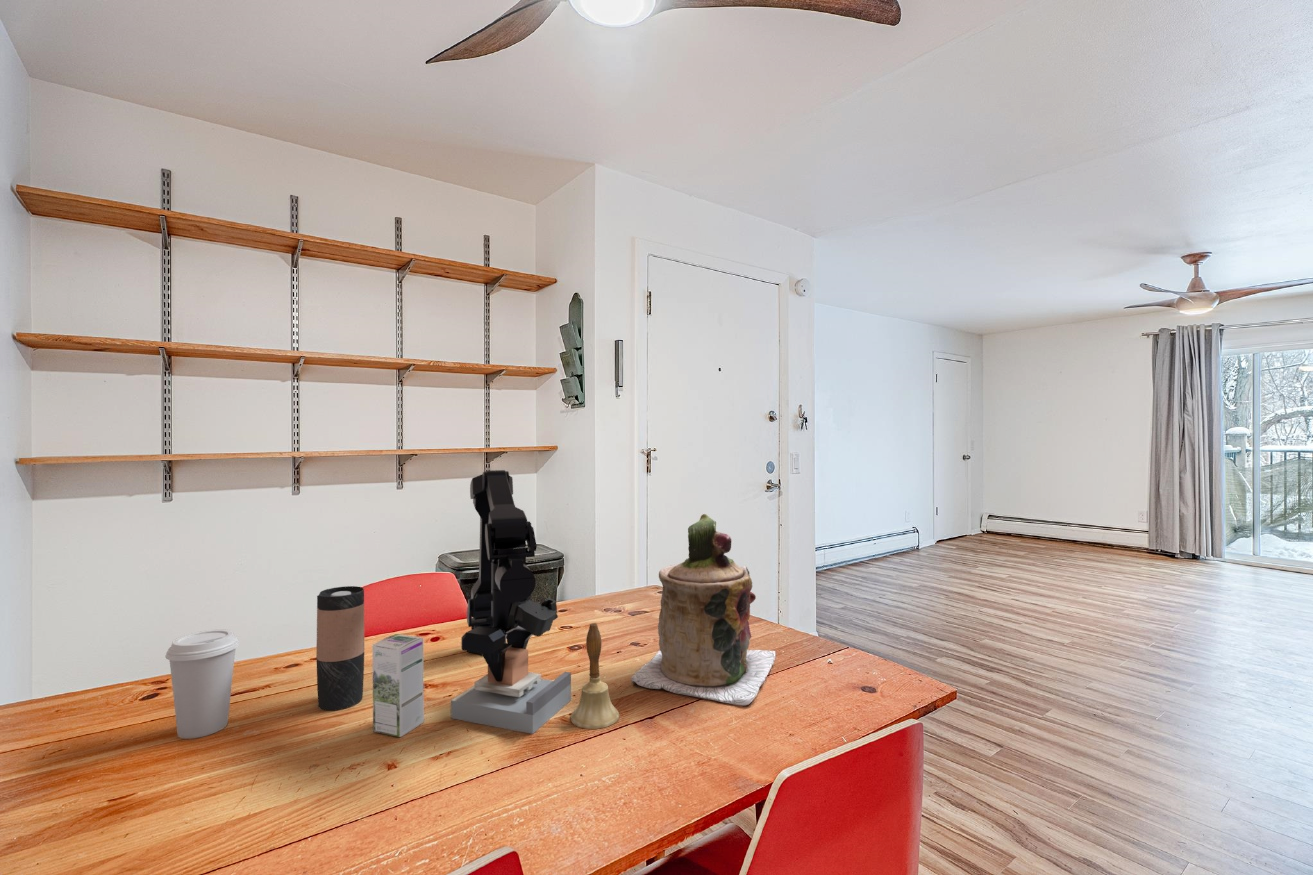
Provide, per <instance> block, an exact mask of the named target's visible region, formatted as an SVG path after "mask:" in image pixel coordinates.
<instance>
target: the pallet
mask: <svg viewBox="0 0 1313 875" xmlns="http://www.w3.org/2000/svg"><path fill="white" fill-rule="evenodd" d="M541 679H542V674H541V673H535V672H532V671H530V672H529V649H528V648H526V649H521V648H514V647H510V648H509V649H508V650H507V651H506V653H505V663H504V674H503V680H502V681H501V682H498V681H496V680H495V678H494V676H493V674H492V672H491V670H490V668H489V666H488V665H487V674H486V675H484V676H482V677H480V678H479V679H476V681H474V685H475V690H480V691H486V692H492V693H498V694H503V695H509V696H515V697H521V696H522V695H523V690H528V691H529V690H530V689H531V688H532V684H538V683H539V682H541Z"/></svg>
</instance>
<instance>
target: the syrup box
mask: <svg viewBox="0 0 1313 875" xmlns="http://www.w3.org/2000/svg"><path fill="white" fill-rule="evenodd" d="M424 697H425V696H424V638H423V637H421V636H415V635H414V636H413V635H408V634H407V635H406V634H399V633H396V634H392V635H389V636H387V637H384V638H383V639H380V640H379V641H377V642H375V643H372V728H373V729H372V731H373V732H374V733H376V734H377V733H378V734H383V735H387V736H393V737H398V738H401V737H403V736H405V735H406V734H409V733H410V732H411V731H413V730H415V729H416V728H417V727H420V725H422V724H423V723H424V722H425V714H424V713H425V712H424V710H425V709H424V706H425V705H424V703H425V702H424Z"/></svg>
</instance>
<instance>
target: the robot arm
mask: <svg viewBox="0 0 1313 875" xmlns="http://www.w3.org/2000/svg"><path fill="white" fill-rule="evenodd" d="M513 482H514V481H513V476H511V475H510V473H509V471H508V470H507V471H506V470H505V469H502V470H501V469H500V470H499V469H498V470H497V469H495V470H494V469H493V470H492V469H491V470H486V471H483V472H482V474H480V475H477V476H474V477H472V478H471V480H470V485H469V494H470V496H469V497H470V500H472V504H473V507H474V509H475V510H476V513H477V514H478V515H479V558H478V559H479V560H478V561H479V562H478V579H477V580H476V581H475V582H474V584H473V586H472V587H471V589H470V590H471V593H470V598H469V599H468V601H467V607H466V622H467V623H466V624H467V625H468V627H469V628H471V629H470V630H468V631H467V632H464V634H463V635H462V636H461V642H460V643H461V647H460V648H461V651H465V652H467V653H472V654H478V655H481V656H482V658H483V660H485V663H486V664H487V667H488V666H489V668H490V670H491V672H492V674H493V676H494V678H495V680H496V681H498V682H501V681H502V680H503V674H504V663H505V653H506V651H507V650H508V649H509V648H510V647H514V648H521V649H527V646H528V643H529V641H530V638H531V637H532V636H534V637H541V636H543V634H545V633H546V632H549V631H551V629H552V625H553V622H554V621H555V620H556V619H558V617H559V615H558V608H557V601H556V600H555V599H552V597H551V598H548V599H545V600H544V601H543V602H542V603H541V601H537V602H535V601H533V600H532V594H533V592H534V591H535V588H536V584H537V583H536V582H537V581H536V577H535V575H534V573H533V571H532V570H531V569H530V568H529V567H528V565H527V558H534V557H535V556H536V551H537V546H538V545H537V540H536V536H535V530H534V529H535V528H534V527H533V526H532V522H531V521H529V520H528V518H527V516H526V513H525V511H524V510H523V509H521V508H518V507H517V506H516V504H515V501H514V497H513V495H514V484H513Z"/></svg>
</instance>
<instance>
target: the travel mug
mask: <svg viewBox="0 0 1313 875" xmlns="http://www.w3.org/2000/svg"><path fill="white" fill-rule="evenodd" d="M316 598H317V599H316V651H315V652H316V684H317V685H316V686H317V687H316V688H317V689H316V690H317V706H318V709H320V710H322V711H327V712H329V711H331V712H332V711H339V710H344V709H348V708H351V707H354V706H355V705H358V704H359V703H360V702H361V701H362V700H363V695H364V676H365V674H364V672H365V589H364V588H363V587H361V586H357V585H356V586H355V585H353V586H351V585H347V586H338V587H337V586H336V587H331V588H326V589H324V590H321V591H320V592H319V594H318V595H316Z"/></svg>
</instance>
